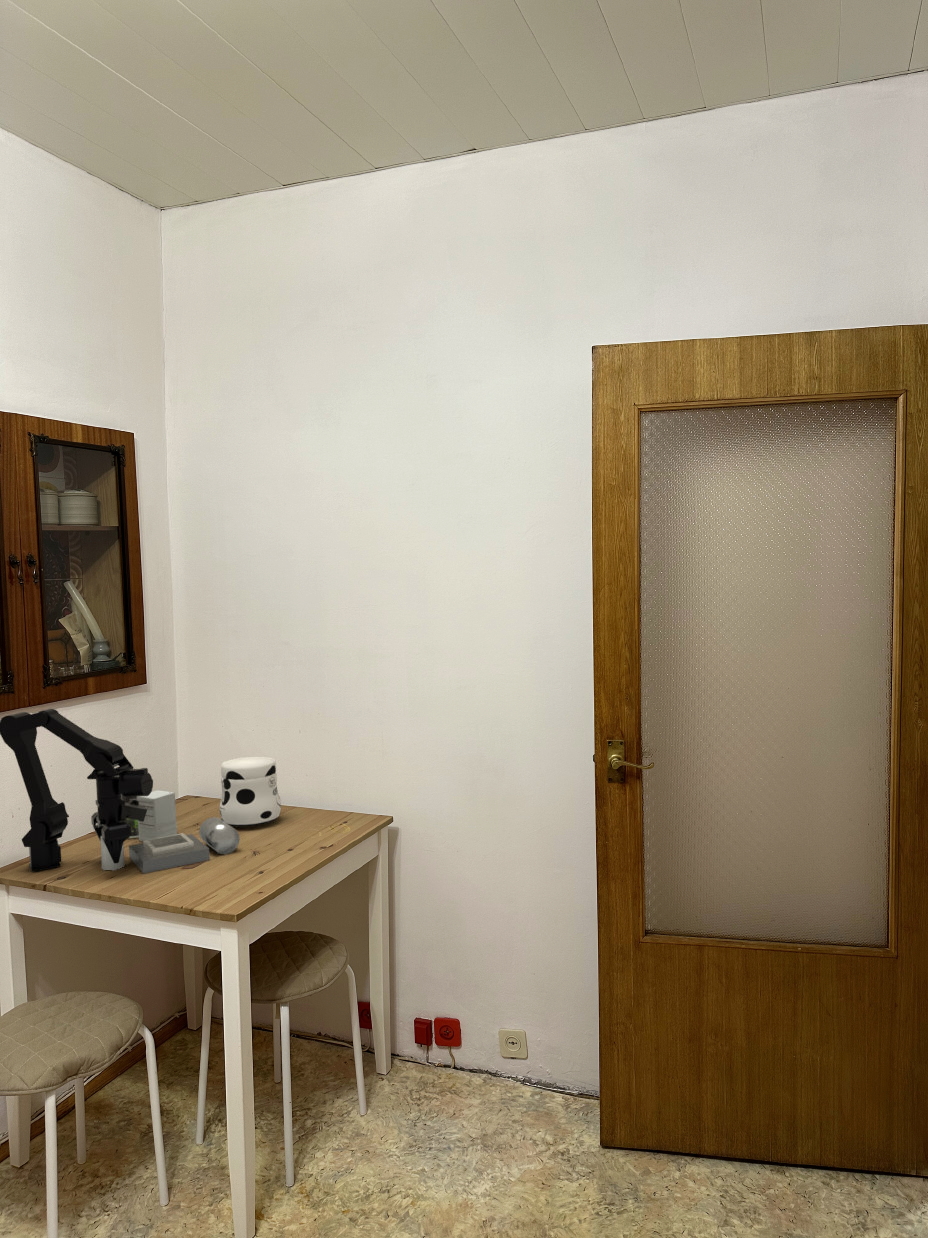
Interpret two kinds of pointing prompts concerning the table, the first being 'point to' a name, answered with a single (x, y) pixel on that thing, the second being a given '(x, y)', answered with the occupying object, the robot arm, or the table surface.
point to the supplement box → (158, 815)
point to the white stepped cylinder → (107, 860)
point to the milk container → (249, 792)
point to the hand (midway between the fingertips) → (112, 858)
